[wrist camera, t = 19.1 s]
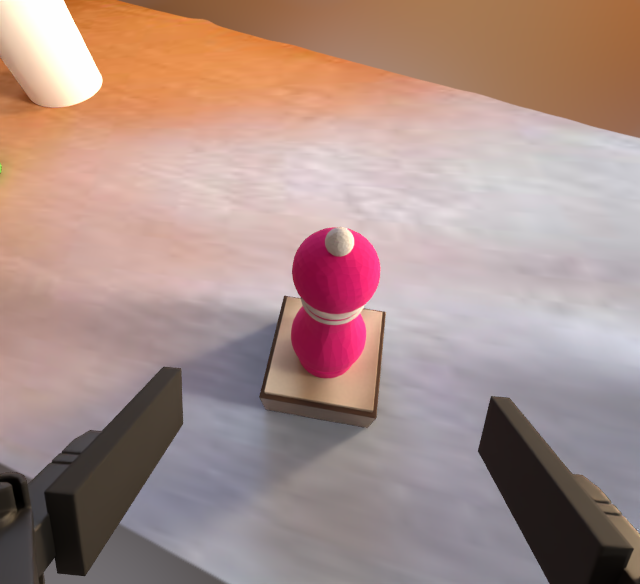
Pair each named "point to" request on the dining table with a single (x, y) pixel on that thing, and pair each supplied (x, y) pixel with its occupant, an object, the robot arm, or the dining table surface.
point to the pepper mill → (332, 299)
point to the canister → (46, 52)
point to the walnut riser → (319, 393)
